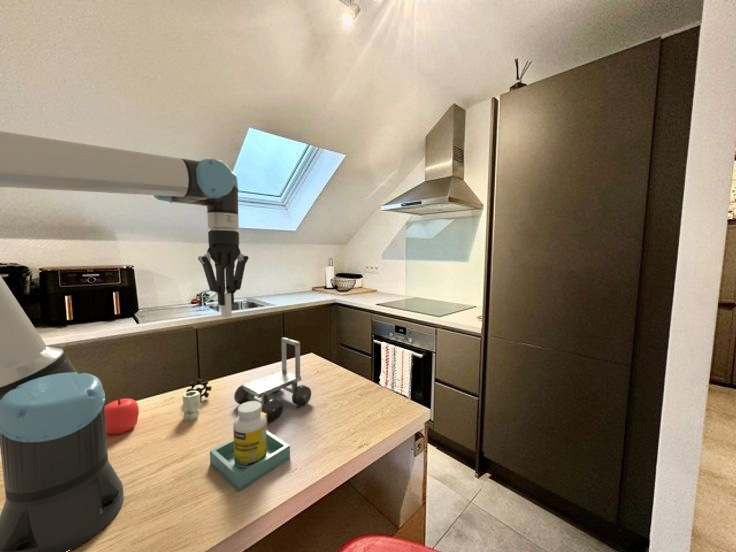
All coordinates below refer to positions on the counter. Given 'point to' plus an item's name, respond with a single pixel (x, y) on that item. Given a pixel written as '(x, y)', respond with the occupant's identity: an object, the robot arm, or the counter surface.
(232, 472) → the tray
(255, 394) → the trolley
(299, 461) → the counter surface
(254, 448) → the pill bottle
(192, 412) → the valve
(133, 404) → the apple
